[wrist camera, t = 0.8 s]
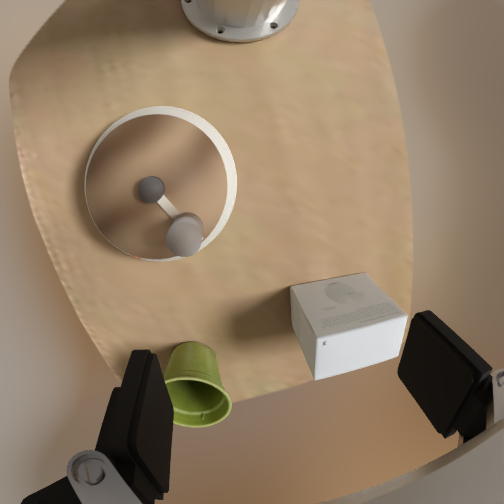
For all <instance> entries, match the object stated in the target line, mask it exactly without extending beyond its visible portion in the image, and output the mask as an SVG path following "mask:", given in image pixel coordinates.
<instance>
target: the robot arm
mask: <svg viewBox="0 0 504 504" xmlns="http://www.w3.org/2000/svg"><path fill="white" fill-rule="evenodd" d="M188 2H190V3H188ZM181 4H182V8H183V11H184V13H185V15H186V17H187V19H188V20H189V21H190V23H191V24H192V25H193V26H194V27H196V28H197V29H198V30H199V31H201V32H203V33H204V34H206V35H208V36H210V37H213V38H216V39H219V40H223V41H229V42H242V43H244V42H254V41H258V40H263V39H266V38H269V37H271V36H273V35H275V34H277V33H279V32H280V31H282V30H283V29H284V28H285V27H286V26H287V25H288V24H289V23H290V22H291V20H292V19H293V18H294V16H295V14H296V12H297V10H298V5H299V0H181ZM271 27H274V29H272V28H271ZM218 32H223V33H222V34H219V33H218ZM491 371H492V367H491V366H490V365H489V364H488V363H487V362H486V361H485V360H484V359H483V358H481V357H480V356H479V355H478V354H477V353H476V352H475V351H474V350H473V349H472V348H471V347H470V346H469V345H468V344H467V343H466V342H465V341H464V340H462V339H461V338H460V337H459V336H458V335H457V334H456V333H455V332H454V331H453V330H452V329H451V328H449V327H448V326H447V325H446V324H445V323H444V322H443V321H442V320H440V319H439V318H438V317H437V316H436V315H435V314H434V313H433V312H431V311H429V310H427V311H423V312H419V313H416V314H415V316H414V318H413V319H412V320H411V324H410V328H409V332H408V336H407V339H406V343H405V346H404V350H403V354H402V357H401V360H400V363H399V367H398V376H399V378H400V380H401V381H402V382H403V383H404V385H405V386H406V387H407V389H408V391H409V392H410V393H411V395H412V396H413V398H414V399H415V400H416V402H417V403H418V405H419V406H420V408H421V409H422V410H423V412H424V413H425V415H426V416H427V418H428V419H429V420H430V422H431V423H432V425H433V426H434V428H435V429H436V431H437V432H438V433H440V434H442V435H443V437H444V438H447V437H449V436H451V435H453V434H455V432H456V431H457V430H458V432H459V439H458V447H457V448H456V449H454V450H452V451H450V452H449V453H447V454H445V455H443V456H441V457H440V458H438V459H436V460H434V461H432V462H430V463H428V464H426V465H424V466H421V467H419V468H417V469H415V470H413V471H411V472H408V473H406V474H404V475H402V476H399V477H397V478H394V479H392V480H390V481H387V482H384V483H382V484H379V485H377V486H374V487H371V488H368V489H365V490H362V491H359V492H356V493H353V494H350V495H347V496H343V497H340V498H337V499H333V500H329V501H325V502H321V503H317V504H504V369H499V370H497V371H496V372H495V373H494V375H493V376H491V375H490V373H491ZM173 420H174V408H173V404H172V401H171V398H170V395H169V392H168V390H167V387H166V384H165V380H164V377H163V374H162V371H161V368H160V365H159V361H158V358H157V355H156V354H151V351H150V350H133V351H132V353H131V356H130V359H129V362H128V365H127V368H126V371H125V374H124V378H123V381H122V384H121V387H115V388H114V389H113V391H112V394H111V397H110V400H109V403H108V406H107V410H106V413H105V416H104V420H103V423H102V427H101V430H100V434H99V437H98V441H97V444H96V448H95V451H93V450H85V451H82V452H79V453H77V454H76V455H74V456H73V457H72V458H71V459H70V461H69V462H68V465H67V476H66V477H64V478H62V479H60V480H59V481H57V482H55V483H53V484H51V485H49V486H47V487H45V488H43V489H41V490H39V491H37V492H35V493H33V494H31V495H29V496H27V497H26V498H25V499H23V501H22V503H21V504H154V502H155V501H154V500H155V499H158V500H163V495H164V493H168V491H169V477H170V476H169V475H170V460H171V444H172V432H173Z"/></svg>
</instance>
